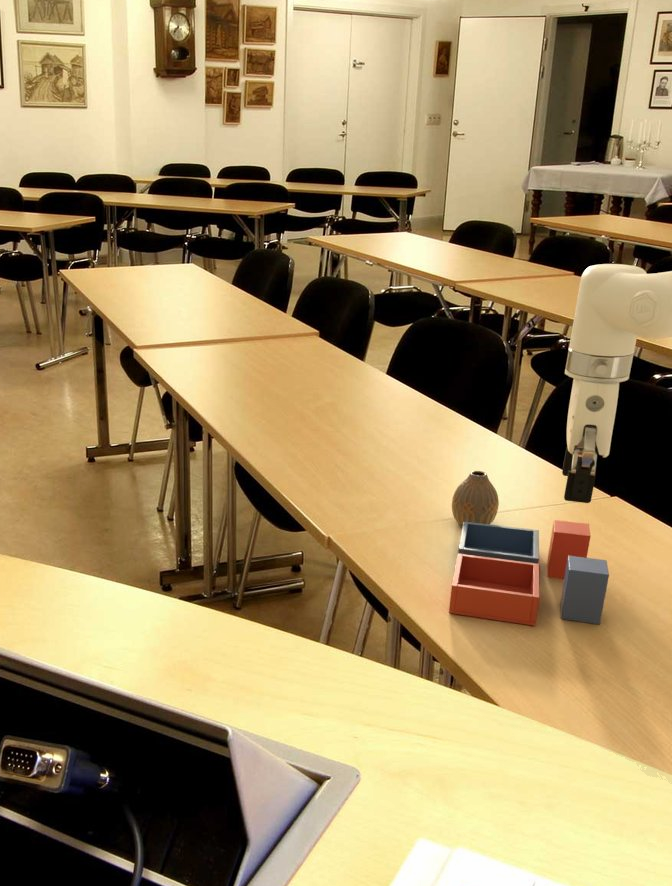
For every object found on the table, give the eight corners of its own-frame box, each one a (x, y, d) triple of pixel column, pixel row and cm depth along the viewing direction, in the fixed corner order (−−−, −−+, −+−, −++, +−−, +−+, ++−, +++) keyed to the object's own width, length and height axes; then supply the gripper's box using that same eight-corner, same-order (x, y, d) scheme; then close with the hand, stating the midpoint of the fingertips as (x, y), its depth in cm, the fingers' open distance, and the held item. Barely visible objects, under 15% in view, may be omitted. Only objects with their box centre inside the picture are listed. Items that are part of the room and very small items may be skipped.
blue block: (597, 608, 118) (606, 560, 115) (599, 624, 114) (609, 574, 112) (560, 603, 120) (568, 555, 117) (560, 619, 116) (569, 569, 113)
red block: (581, 569, 129) (588, 523, 126) (582, 582, 125) (590, 536, 122) (546, 564, 130) (553, 519, 128) (547, 577, 127) (554, 531, 124)
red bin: (535, 590, 123) (539, 563, 122) (535, 626, 114) (539, 597, 113) (454, 579, 127) (457, 553, 125) (448, 613, 118) (451, 585, 116)
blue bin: (535, 555, 134) (538, 530, 132) (535, 585, 125) (539, 558, 123) (460, 545, 137) (463, 521, 136) (455, 574, 128) (458, 548, 127)
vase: (458, 513, 149) (463, 462, 145) (501, 522, 145) (508, 470, 141) (443, 527, 144) (449, 476, 140) (488, 537, 140) (494, 484, 136)
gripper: (637, 383, 108) (610, 515, 115) (625, 351, 123) (602, 470, 129) (568, 378, 110) (546, 508, 117) (564, 348, 125) (545, 464, 132)
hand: (575, 488), depth 123 cm, fingers open, 9 cm apart
